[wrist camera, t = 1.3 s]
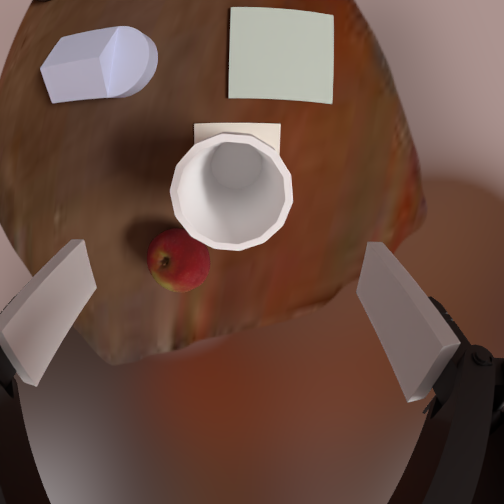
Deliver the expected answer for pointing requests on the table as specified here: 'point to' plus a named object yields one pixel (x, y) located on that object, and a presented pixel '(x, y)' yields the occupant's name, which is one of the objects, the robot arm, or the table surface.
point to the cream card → (240, 131)
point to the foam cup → (231, 191)
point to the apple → (178, 260)
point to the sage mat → (281, 54)
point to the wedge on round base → (99, 64)
